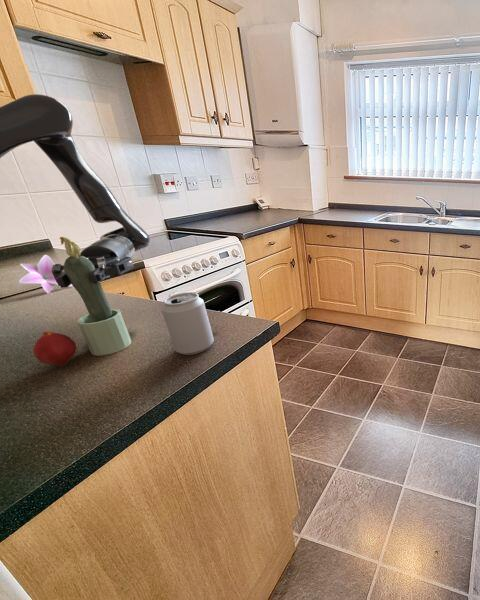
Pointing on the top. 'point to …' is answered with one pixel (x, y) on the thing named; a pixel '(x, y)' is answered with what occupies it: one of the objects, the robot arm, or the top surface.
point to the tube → (105, 334)
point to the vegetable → (85, 282)
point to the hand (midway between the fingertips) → (78, 280)
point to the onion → (54, 348)
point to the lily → (41, 274)
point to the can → (187, 323)
